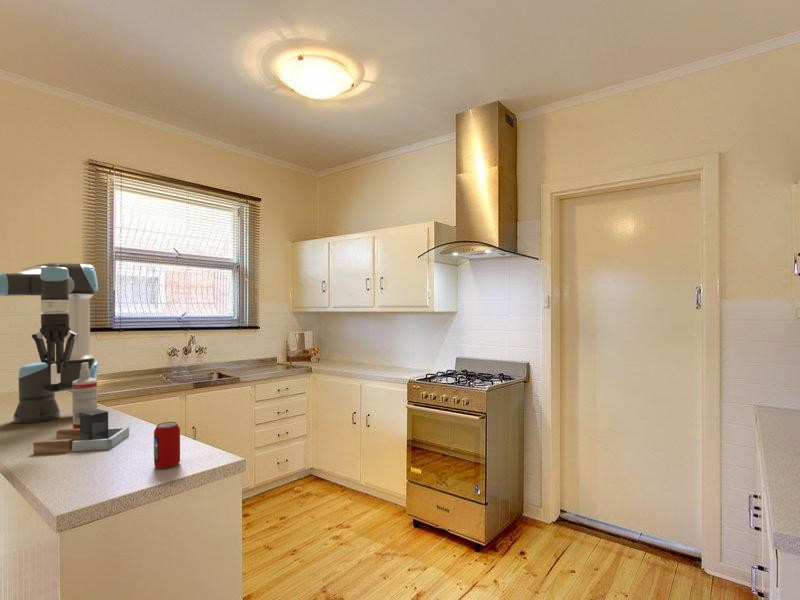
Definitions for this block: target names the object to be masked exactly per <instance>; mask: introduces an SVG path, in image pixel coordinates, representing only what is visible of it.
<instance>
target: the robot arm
mask: <svg viewBox="0 0 800 600" xmlns="http://www.w3.org/2000/svg"><path fill="white" fill-rule="evenodd" d="M97 291H99V284H98V276H97V272H96V268H95V266H93V265H92V264H87V263H59V262H57V263H54V262H49V263H41V264H36V265H31V266H28V267H26V268H24V269H23V270H21V271H17V272H13V273H5V272H2V273H1V272H0V296H3V297H6V296H7V297H8V296H10V297H11V296H15V297H16V296H18V297H20V296H40V312H41V313H42V314H41V315H40V325H41V327H40V328H39V331H38V332H36V333H34V334H31V338H32V339H33V340H34V342H35V346H36V349H37V352H38V356H39V359H40V362H33V363H29V364H25V365H22V366H21V367H19V369H18V377H17V379H18V404H17V406H16V409H15V412H14V414H13V416H12V422H13V423H14V424H32V423H42V422H46V421H51V420H54V419H57V418H60V417H61V409H60V406H59V404H58V402H57V400H56V393H57V392H68V391H71V392H72V391H73V390H72V382H73V381H75V380H77V379H79V378H80V370H81V364H82V363H85V362H87V363H88V369H89V371H90V377H91V378H94V379H97V378H98V372H99V361H96V360H95V356H93V355H92V354H91V319H90V318H91V317H90V316H91V302H90V301H91V298H92V297H94V296H95V292H97ZM43 337H44V338H43ZM44 339H45V340H44ZM64 344H65V345H64Z"/></svg>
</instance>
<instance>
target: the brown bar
mask: <svg viewBox="0 0 800 600" xmlns="http://www.w3.org/2000/svg"><path fill="white" fill-rule="evenodd" d="M73 441H80V429H73V428H68V429H67V428H66V429H59V430H56V437H55V439H50V440H49V439H48V440H47V439H46V440H37V441H34V442H33V443H32V445H33V448H32V449H33V455H38V454H54V453H64V452H65V453H68V452H69V453H70V452H71V451H73Z"/></svg>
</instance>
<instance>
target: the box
mask: <svg viewBox="0 0 800 600" xmlns="http://www.w3.org/2000/svg"><path fill="white" fill-rule="evenodd" d="M108 428H109V411H107V410H103V409H98V408H97V409H95V410H90V411H84V412H80V440H96V439H109V438H108ZM80 440H79V441H80Z"/></svg>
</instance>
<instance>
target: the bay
mask: <svg viewBox="0 0 800 600" xmlns="http://www.w3.org/2000/svg"><path fill="white" fill-rule="evenodd" d="M129 436H130V427H129V426H127V427H126V426H125V427H108V439H96V440H72V452H81V451H82V452H83V451H95V450H96V451H97V450H99V451H100V450H111V449H113V448H114V447H116V446H117V445H118V444H120V443H121V442H122V441H123V440H125V439H126V438H128V437H129Z"/></svg>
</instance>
